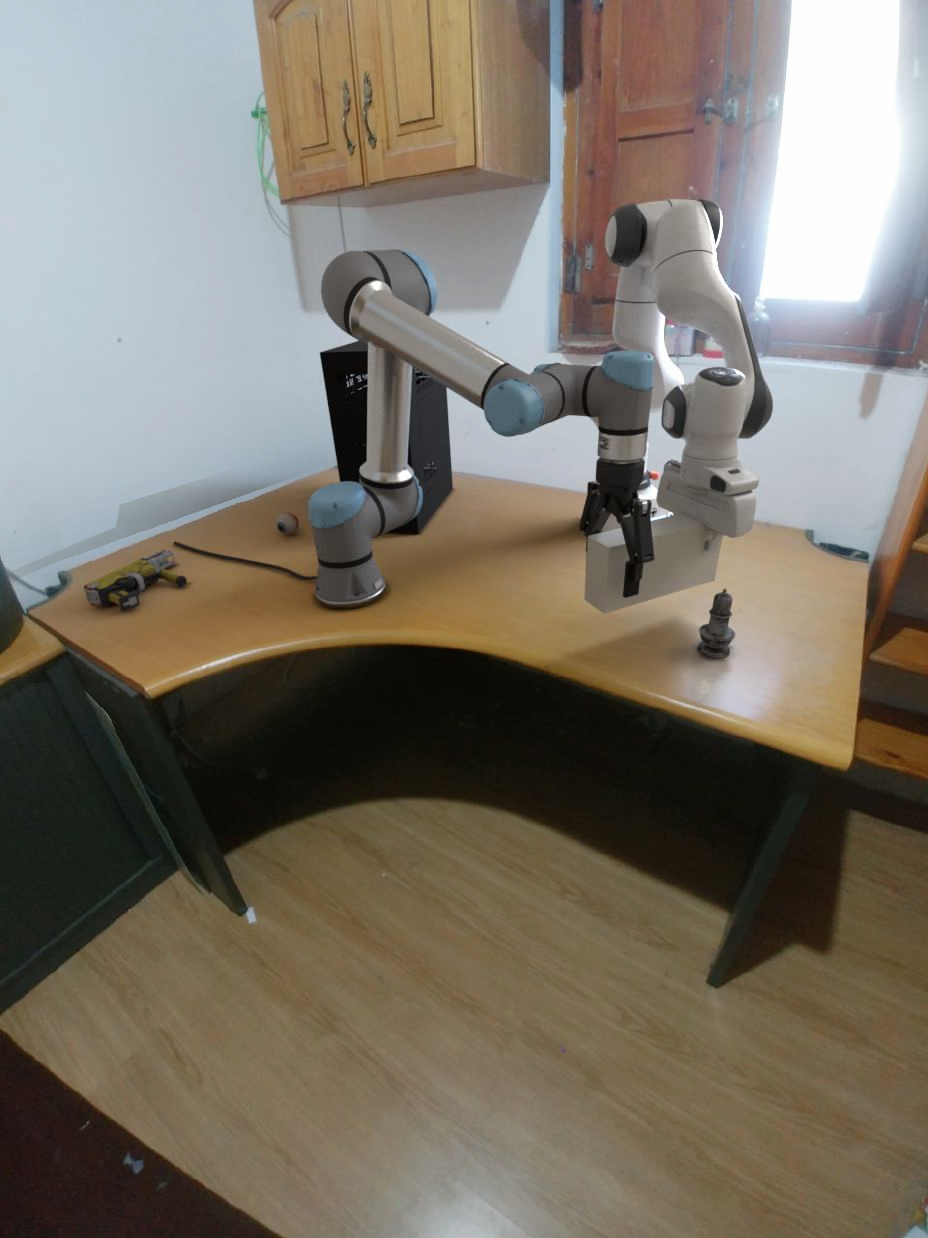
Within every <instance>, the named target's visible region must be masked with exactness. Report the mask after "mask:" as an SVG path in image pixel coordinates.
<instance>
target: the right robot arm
mask: <svg viewBox="0 0 928 1238" xmlns="http://www.w3.org/2000/svg"><path fill="white" fill-rule="evenodd" d="M722 230H723V214H722V211H721V208H720V206H719V205H718V203H717V202H714V201H712V200H708V199H704V198H703V199H702V198H699V199H697V200H694V199H685V198H684V199H683V198H682V199H681V198H666V199H664V200H654V201H646V202H640V203H637V204H636V203H635V202H631V203H627V204H624V205H621V206H619V207H616V209H614V211H613V212H612V214H610V216H609V220H608V224H607V227H606V230H605V236H604V244H605V249H606V250H605V251H606V256H607V258H608V260H609V262H610V263H611V264H612V265H614V266H618V267H620V269H619V273H618V279H617V286H616V290H615V291H616V292H615V299H614V300H615V301H614V309H613V319H612V331H611V333H612V338H613V340H614V342H615V343H616V344H617V345H618V346H619V347H621V348H622V349H624V350H625V351H644V352H648V353H650V354H651V355H652V357H653V359H654V370H653V383H654V386H653V389H652V398H651V406H650V414H652V413H659V412H661V422H660V423H661V427H662V429H663V430H664V431H665V432H666V434H668V435H669V436H670V437H671V438H673V439H677V440H684V441H685V442H684V443H685V444H684V447H683V449H682V454H681V461H680V460H678V459H676V458H671V459H670V460H668V461H667V462H666V463H664V465H663V472H662V474H661V476H660V473H659V472H657V471H654V470H651V471H649V470H648V469H647V466H648V458H649V457H648V456H649V447H650V443H649V440H648V439H647V450H646V456H645V457H643V459H644V461H645V467H644V477H643V481H642V483H641V484H640V485H639V486H638V489H637V490H638V496H639V498H640V499H642V500H643V501H645V500H651V502H652V506H651V513H650V518H651V521H652V520H656V519H660V518H664V517H668V516H672V515H677V514H683V515H685V516H688V517H690V518H692V519H695V520H697V521H699V522H702V523H704V526H705V527H707V528H710V529H711V535H713V537H712V538H711V539H710V540H708V541H705V546H704V549H705V550H707V551H709V552H714V551H716V550H717V548H718V542H719V541H720V540H721V539H722V540H723V538H724V537H728V538H731V539H737V538H741V537H744V536H747V535H748V534H749V533H750V532H751V531H752V529H753V526H754V521H755V514H756V509H757V497H756V494H755V493H754V491H753V490H757V488H758V487H759V483H760V478H759V477H758V476H757V475H756V474H755V473H753V472H752V470H750V469H748V467H746V466H745V465H744V464H743V463H742V462H741V461H740V460H739V459H738V454H739V449H738V440H739V439H740V440H741V439H742V440H749V439H752V438H753V437H754V436H756V435H757V434H759V432H760V431H762V430H763V429H764V428H765V427H766V425H767V424H768V423H769V422H770V420H771V418H772V415H773V411H774V410H773V409H774V400H773V395H772V392H771V390H770V388H769V385H768V383H767V382H766V379H765V377H764V375H763V372H762V369H761V366H760V362H759V358H758V353H757V350H756V347H755V342H754V338H753V335H752V332H751V328H750V327H751V326H750V324H749V321H748V317H747V314H746V310H745V307H744V305H743V302H742V300H741V298H740V296H739V294H737V293H735V292H734V291H732V290H731V289H730V287H728V285H727V284H726V282H725V281H724V278H723V277H722V274H721V273H720V270H719V267H718V260H717V251H716V249H717V247H718V245H719V242H720V240H721V236H722V232H723V231H722ZM666 319H668V320H669V321H671V322H673V323H674V324H677V325H680V326H683V327H687V328H691V329H694V330H696V331H700V332H702V333H704V334H707V336H710V337H712V338H713V339H714V340H715V341H716V342H717V343H718V345H719V347H720V349H721V353H722V357H723V360H724V364H725V367H724V366H714V367H713V366H712V367H708V368H704V369H702V370H700V371H698V373H697V374H696V375H695V377H694V379H693V380H692V381H689V382H686V383H685V379H684V376H683V373H682V371H681V370H680V369H679V367H678V366H676V365H675V364H674V363H673V362H672V360H671V359H670V357H669V354H668V352H667V349H666V344H665V324H666ZM588 418H589V419H590V420H591V421H592V422H593V424H594V425H595V426H596V428H597V430H598V429H599V417H588ZM658 479H660V480H659V483H658V488H656V487H655V486H654V485H652V483H651V480H653V481H658ZM628 516H631V514H630V513H629V514H628V515H626V516H623V517H628ZM619 528H621V525H620V524H619V523H617V520H616V517H615V516H614V515H613V514H612V513H611V514H610V516H609V518H608V520H607V521H606V523H605V525H604V527H603V529H602V530H601V532H606V531H610V530H615V529H619Z"/></svg>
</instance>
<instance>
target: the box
mask: <svg viewBox="0 0 928 1238" xmlns="http://www.w3.org/2000/svg"><path fill="white" fill-rule="evenodd" d="M651 528H652V539H653V549H654V560H653V561H650V562H647V563H644V564H643V573H642V578H641V580H640V584H639V594H638V595H634V596H631V597H628V598H625V597H623V587H624V576H625V565H626V561H629V560H630V559H629V555H628V552H627V548H626V544H625V540H624V536H623V532H622V528H619V529H615V530H610V531H606V532H605V531H601V532H602V533H598V534H594V535H590V536H588V544H587V553H586V555H587V561H586V560H585V579H584V593H583V594H584V595H583V596H584V597H583V601H585V602H587V603H588V604H589V605H591V606H592V607H594V608H595V609H597V610H598V612H599V611H600V612H601V613H602V614H607V613H611V612H613V611H617V610H621V609H625V608H628V607H631V606H635V605H638V604H641V603H644V602H647V601H651V600H654V599H657V598H661V597H665V596H667V595H672V594H675V593H677V592H681V591H685V590H689V589H691V588H695V587H698V586H701V585H705V584H708V583H711V582H714V581H716V575H717V569H718V564H719V558H720V553H721V549H722V548H721V547H722V542H723V538H722V539H721V540H720V541H719V542H718V548H717V550H716V551H714V552H709V551H707V550H705V549H704V546H705V541H708V540H710V539H711V538H712V537H713V535H711V529H710V528H707V527H705V526H704V523H702V522H699V521H697V520H695V519H692V518H690V517H688V516H685V515H683V514H677V515H672V516H668V517H664V518H660V519H656V520H652V521H651ZM636 555H637V553H636Z"/></svg>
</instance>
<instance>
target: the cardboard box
mask: <svg viewBox="0 0 928 1238" xmlns="http://www.w3.org/2000/svg"><path fill="white" fill-rule="evenodd" d="M319 358H320V364H321V370H322V377H323V383H324V388H325V396H326V401H327V408H328V415H329V421H330V427H331V434H332V440H333V446H334V453H335V458H336V459H335V460H336V465H337V471H338V478H339V482H343V481H352V482H357V483H359V479H360V477H359V474H360V467H361V465H363V464H364V463H365V462H366V461H367V390H368V342H367V343H364V342H360V341H359V340H356V341H354V342H349V343H347V344H343V345H339V346H336V347H333V348H330V349H326V350H323V351H320V352H319ZM447 390H448V388H447V387H445V386H444V385H442V384H441V383H439V382H437V381H436V380H434V379H432V378H431V377H429V376H428V375H426V374H424V373H423V372H421V371H419V370H418V369H416V368H415V367H413V366H412V383H411V402H410V421H409V440H408V460H407V464H408V465H409V466H410V467H411V468H412V469H413V471H414V475H415V477H416V478H417V479H418V481H419V483H418V485H419V486H421V488H422V493H423V502H422V506H421V509H420V511H419V513H418V514H417V515H416V517H414V518H413V519H412V520H410V521H409V522H408V523H406V524H404V525H403V526H400V527H397V528H395V529H392V530H390V531H388V532H387V533H390V534H391V533H393V534H413V535H415V534H416V535H418V534H420V533H421V532H422V530H423V529H424V527H425V526H427V523H428V522H429V521H430V520H431V518H432V517H433V515H434V514H435V513H436V512H437V510H438V509H439V508H440V507H441V505H442V504H443V502H444V501H445V500H446V499H447V498H448V496H449V495H450V494H451V492H452V491H453V489H454V484H453V468H452V454H451V453H452V451H451V438H450V437H451V435H450V420H449V406H448V391H447Z"/></svg>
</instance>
